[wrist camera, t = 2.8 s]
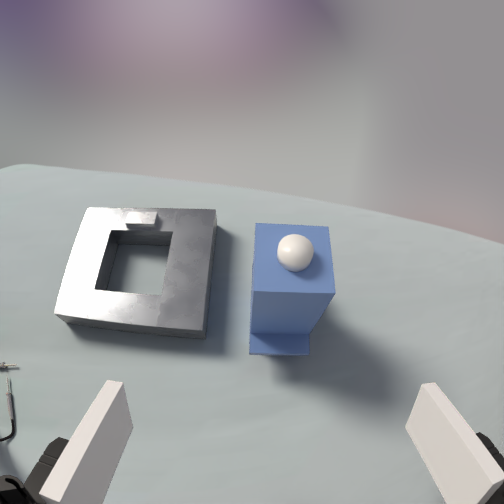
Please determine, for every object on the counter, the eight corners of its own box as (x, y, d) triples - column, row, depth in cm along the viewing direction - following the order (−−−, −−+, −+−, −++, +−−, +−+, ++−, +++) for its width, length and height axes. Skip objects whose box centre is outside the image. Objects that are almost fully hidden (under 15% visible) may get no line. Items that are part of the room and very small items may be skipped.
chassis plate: (217, 224, 33) (215, 204, 30) (205, 339, 27) (201, 327, 24) (95, 221, 33) (85, 203, 30) (66, 322, 26) (49, 310, 24)
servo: (299, 282, 30) (328, 199, 20) (302, 362, 26) (341, 314, 16) (251, 280, 30) (256, 195, 20) (248, 361, 26) (253, 312, 16)
